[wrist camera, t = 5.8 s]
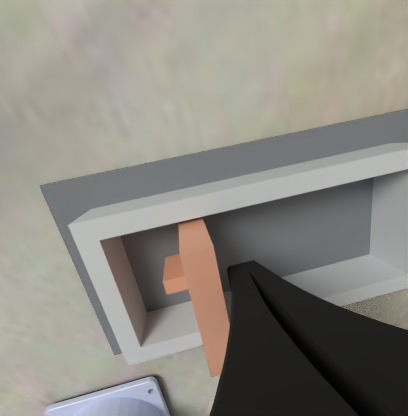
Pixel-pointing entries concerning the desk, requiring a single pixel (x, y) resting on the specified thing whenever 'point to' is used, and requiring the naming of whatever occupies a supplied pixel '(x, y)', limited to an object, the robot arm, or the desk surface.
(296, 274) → the base
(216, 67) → the desk surface
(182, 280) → the pusher
